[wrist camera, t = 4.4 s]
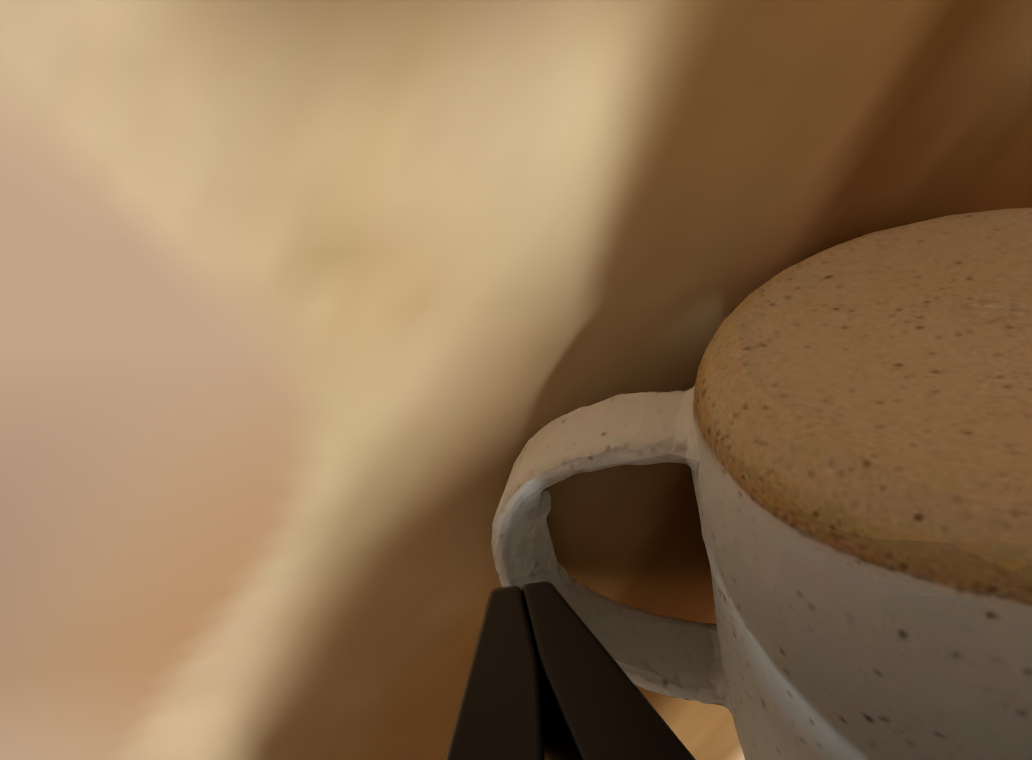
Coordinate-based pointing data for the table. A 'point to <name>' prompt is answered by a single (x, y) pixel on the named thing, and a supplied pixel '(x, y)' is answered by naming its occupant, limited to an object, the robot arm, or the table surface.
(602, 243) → the table surface
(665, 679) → the ceramic mug
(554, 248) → the table surface
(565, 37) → the table surface
